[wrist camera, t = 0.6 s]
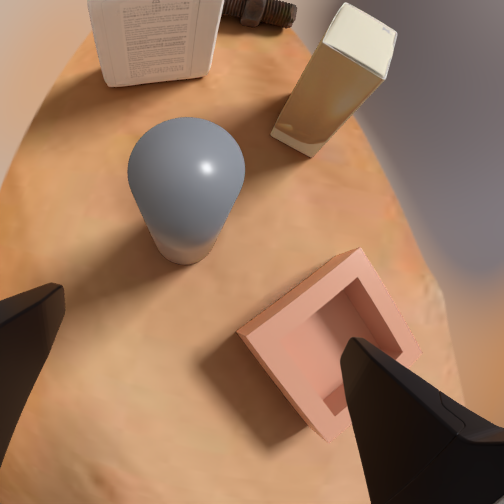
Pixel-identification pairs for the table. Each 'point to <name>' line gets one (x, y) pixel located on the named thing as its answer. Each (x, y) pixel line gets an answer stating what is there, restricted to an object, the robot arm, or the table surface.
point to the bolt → (261, 12)
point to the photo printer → (154, 39)
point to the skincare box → (336, 80)
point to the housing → (327, 337)
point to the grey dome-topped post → (186, 185)
